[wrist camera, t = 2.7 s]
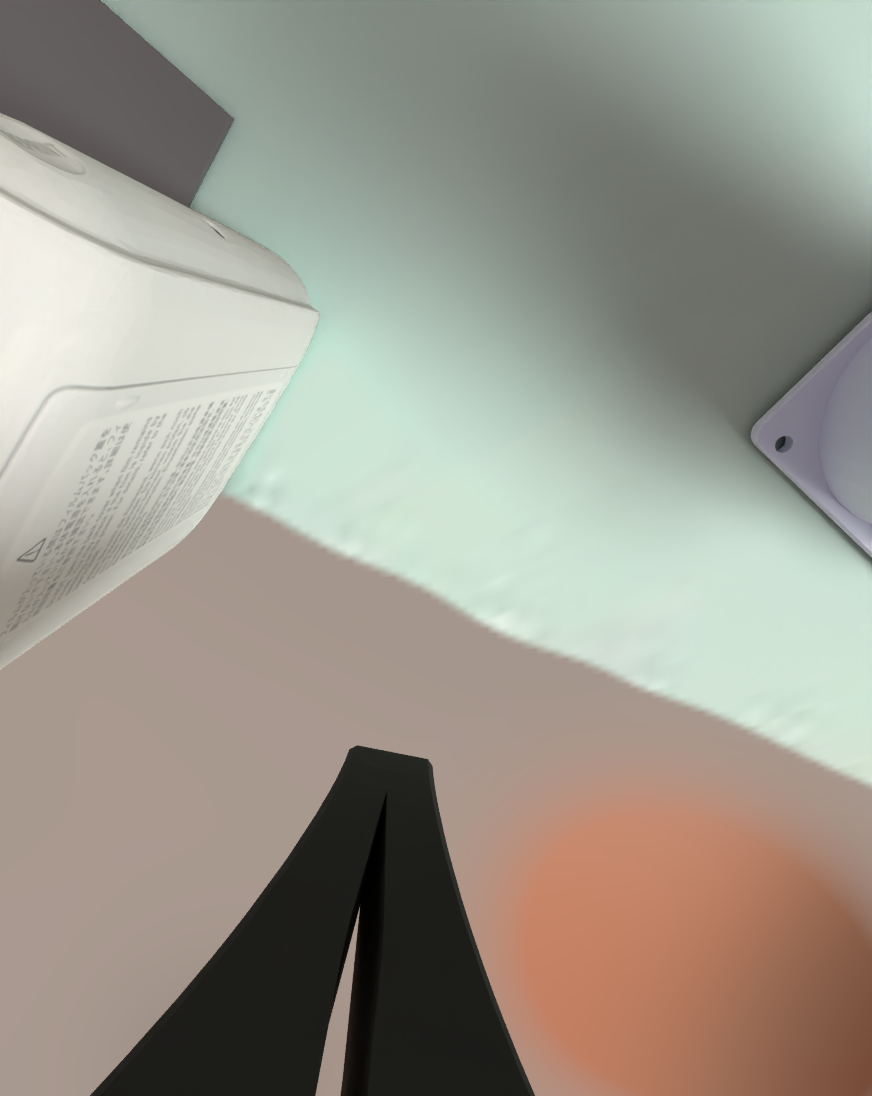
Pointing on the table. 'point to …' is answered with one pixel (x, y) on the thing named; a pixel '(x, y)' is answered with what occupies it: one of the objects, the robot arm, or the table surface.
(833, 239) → the table surface
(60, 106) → the mat
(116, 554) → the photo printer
